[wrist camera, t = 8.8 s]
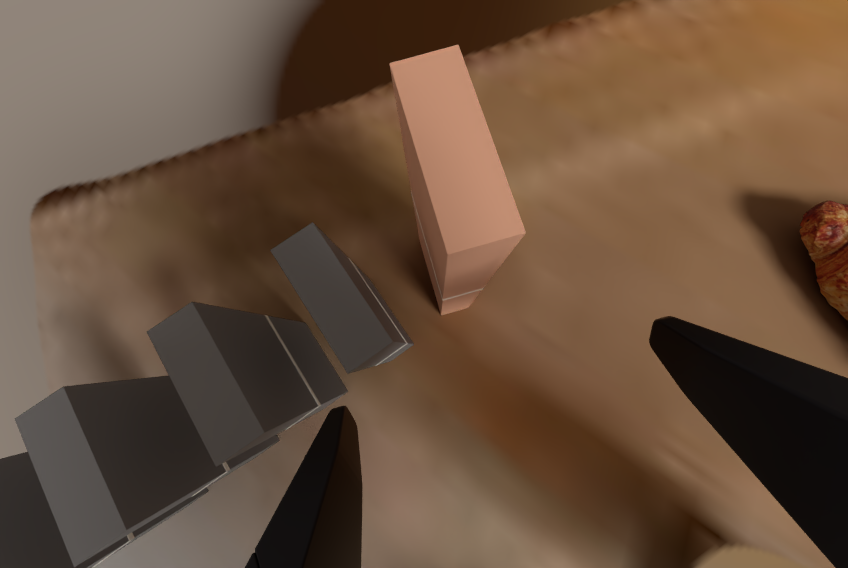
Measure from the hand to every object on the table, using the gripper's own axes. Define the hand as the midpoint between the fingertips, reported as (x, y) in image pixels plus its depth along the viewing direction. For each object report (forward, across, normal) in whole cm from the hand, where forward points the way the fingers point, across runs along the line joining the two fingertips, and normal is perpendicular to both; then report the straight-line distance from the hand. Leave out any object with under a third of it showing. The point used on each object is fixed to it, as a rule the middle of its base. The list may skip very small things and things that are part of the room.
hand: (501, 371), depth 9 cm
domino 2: (+8, +14, +8) cm, 18 cm away
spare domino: (+12, 0, +4) cm, 13 cm away
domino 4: (+11, +5, +5) cm, 13 cm away
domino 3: (+10, +9, +6) cm, 15 cm away
